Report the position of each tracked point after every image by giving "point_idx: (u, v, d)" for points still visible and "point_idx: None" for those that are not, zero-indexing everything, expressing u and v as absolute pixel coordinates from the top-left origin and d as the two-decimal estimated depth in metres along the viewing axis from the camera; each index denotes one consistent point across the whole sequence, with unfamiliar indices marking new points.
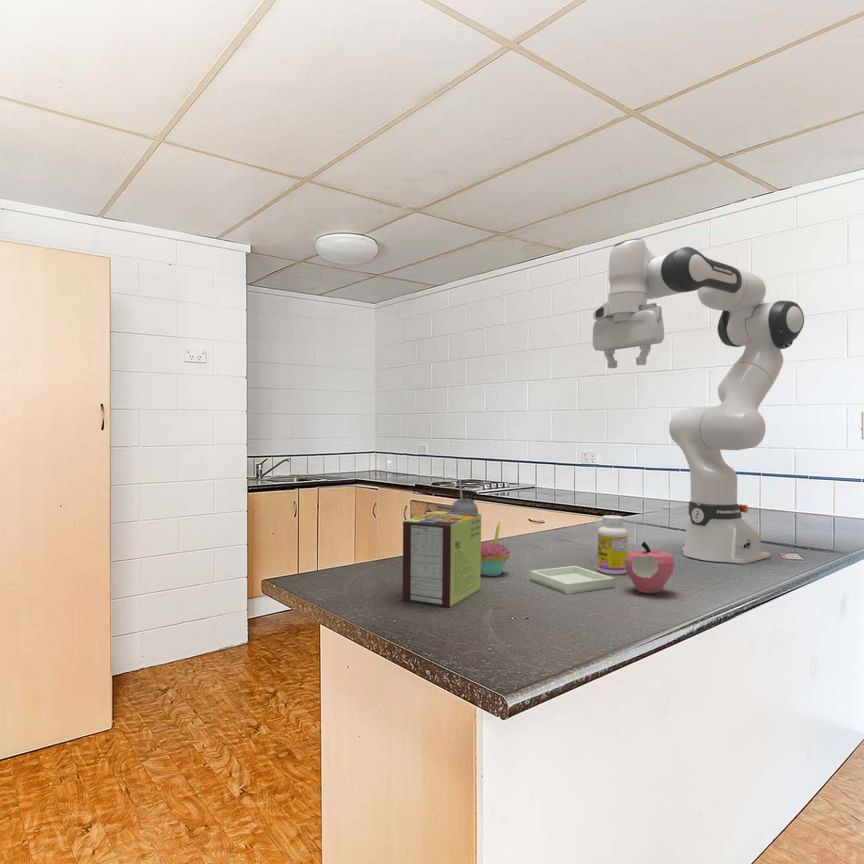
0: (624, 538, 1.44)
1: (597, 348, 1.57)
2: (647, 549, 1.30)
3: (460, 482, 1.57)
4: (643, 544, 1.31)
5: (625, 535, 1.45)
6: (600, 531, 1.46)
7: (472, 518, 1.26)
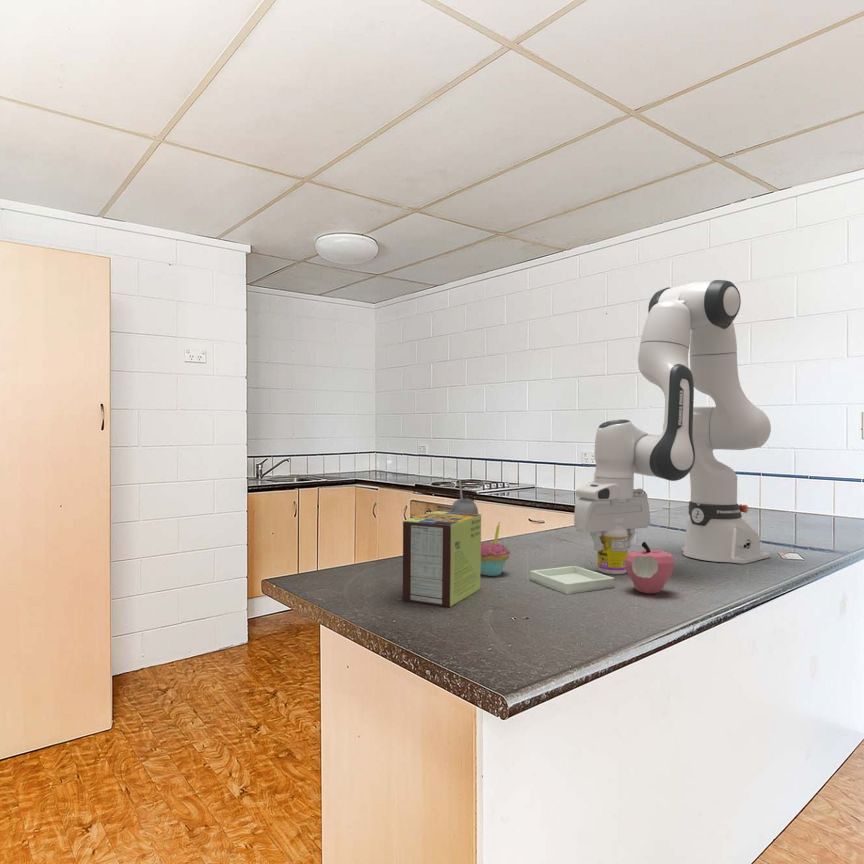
0: (624, 538, 1.44)
1: (590, 531, 1.42)
2: (647, 549, 1.30)
3: (460, 482, 1.57)
4: (643, 544, 1.31)
5: (625, 535, 1.45)
6: None
7: (472, 518, 1.26)
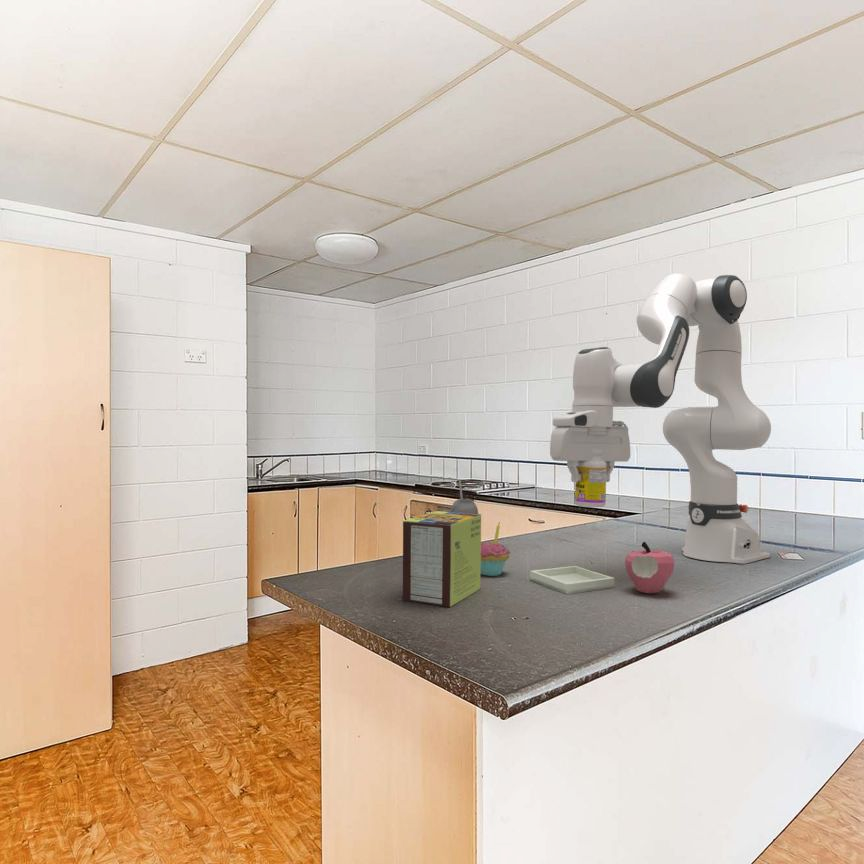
0: (602, 469, 1.38)
1: (566, 459, 1.35)
2: (647, 549, 1.30)
3: (460, 482, 1.57)
4: (643, 544, 1.31)
5: (603, 466, 1.38)
6: (578, 463, 1.40)
7: (472, 518, 1.26)
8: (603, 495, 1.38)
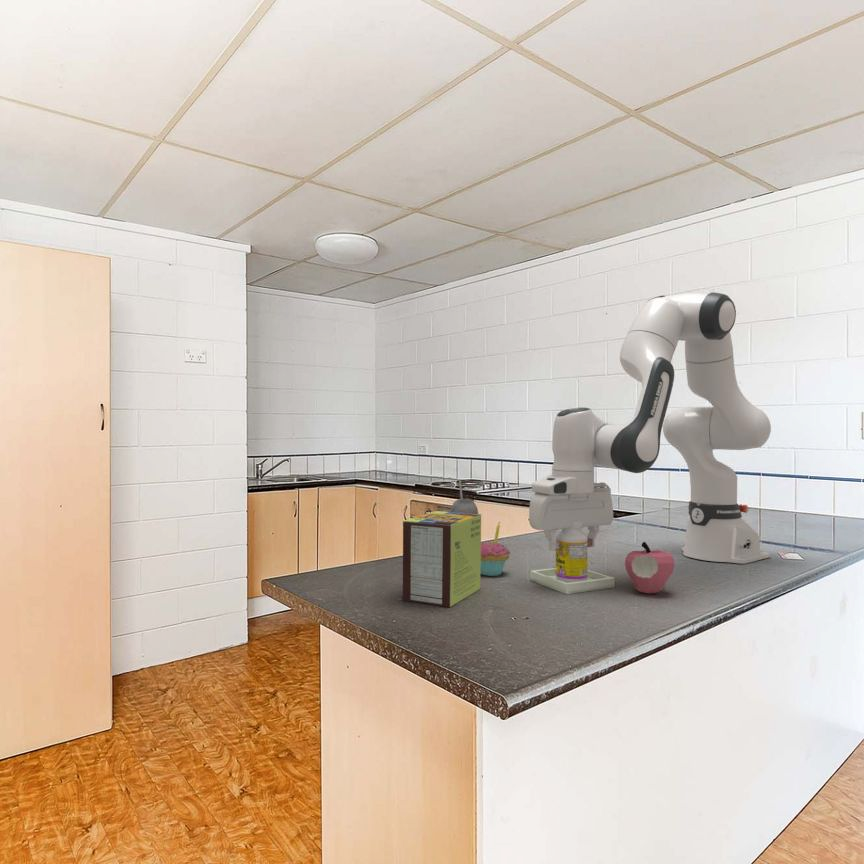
0: (583, 544, 1.33)
1: (546, 528, 1.30)
2: (647, 549, 1.30)
3: (460, 482, 1.57)
4: (643, 544, 1.31)
5: (584, 541, 1.33)
6: (557, 536, 1.35)
7: (472, 518, 1.26)
8: (584, 570, 1.33)
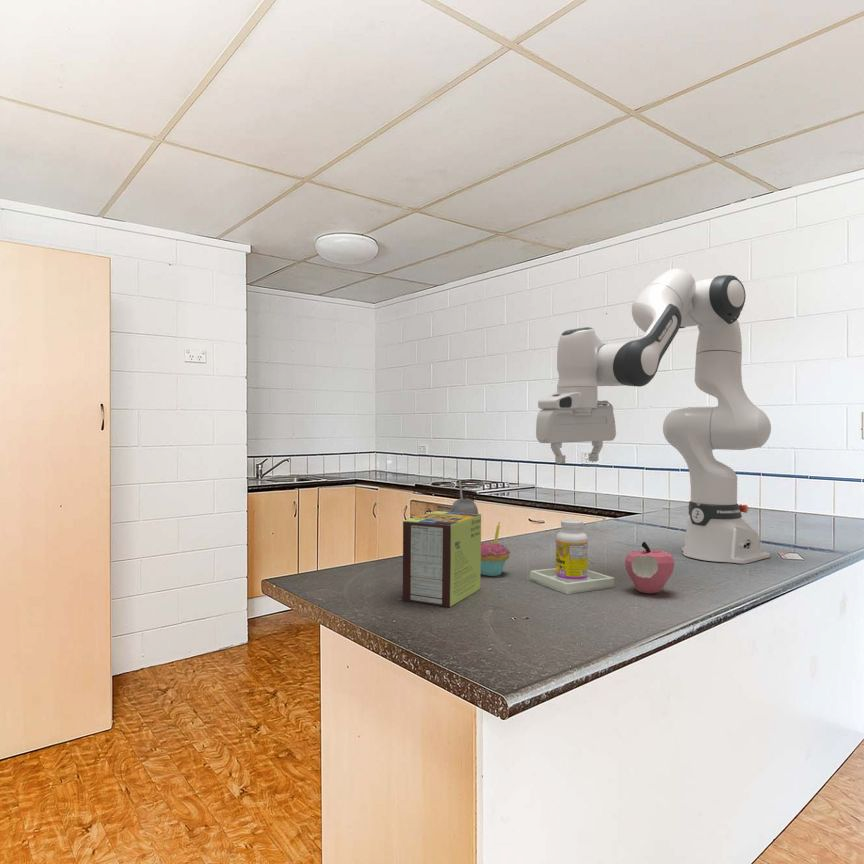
0: (583, 544, 1.33)
1: (552, 441, 1.36)
2: (647, 549, 1.30)
3: (460, 482, 1.57)
4: (643, 544, 1.31)
5: (584, 541, 1.33)
6: (558, 537, 1.35)
7: (472, 518, 1.26)
8: (584, 571, 1.33)
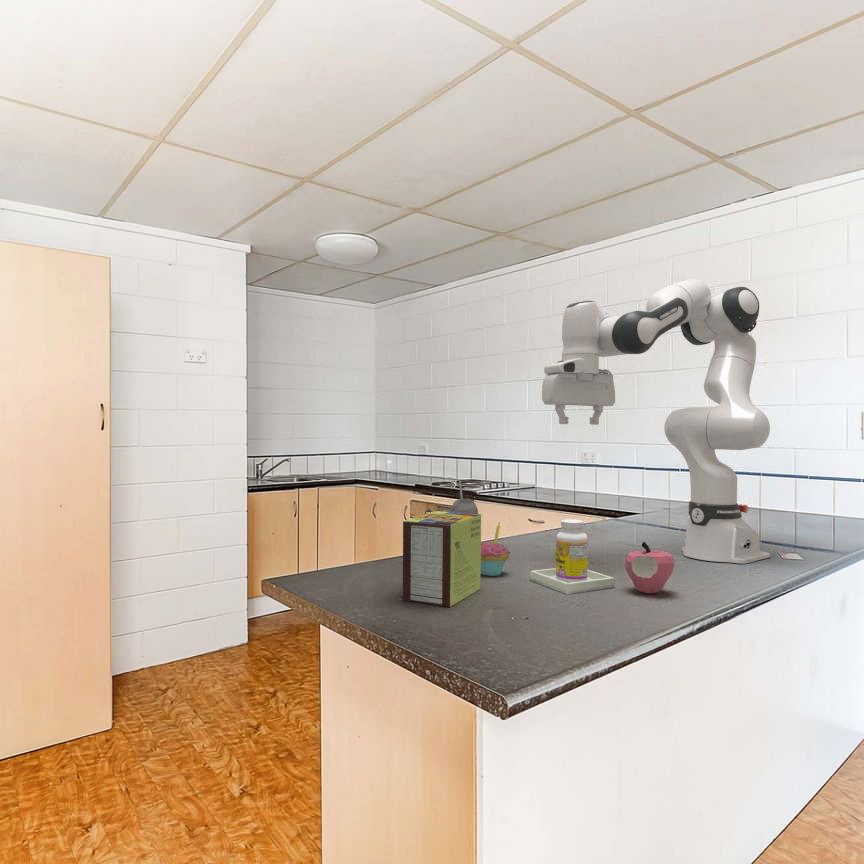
0: (583, 544, 1.33)
1: (556, 402, 1.49)
2: (647, 549, 1.30)
3: (460, 482, 1.57)
4: (643, 544, 1.31)
5: (584, 541, 1.33)
6: (558, 537, 1.35)
7: (472, 518, 1.26)
8: (584, 571, 1.33)
